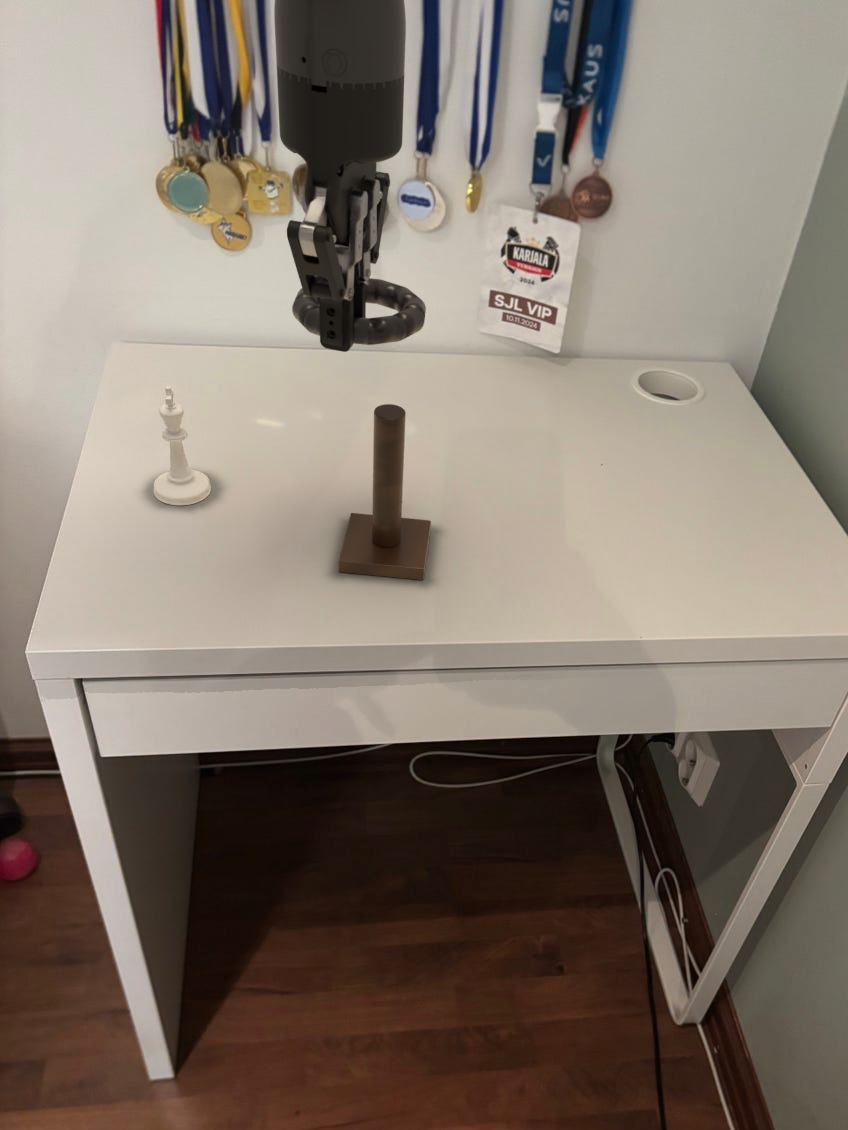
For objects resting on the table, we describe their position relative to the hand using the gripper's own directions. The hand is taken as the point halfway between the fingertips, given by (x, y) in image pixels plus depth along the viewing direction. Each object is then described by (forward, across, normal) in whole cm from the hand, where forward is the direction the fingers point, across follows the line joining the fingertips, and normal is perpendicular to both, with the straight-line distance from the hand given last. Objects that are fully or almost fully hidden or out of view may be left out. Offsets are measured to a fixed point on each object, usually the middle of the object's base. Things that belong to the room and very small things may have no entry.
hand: (343, 339), depth 68 cm
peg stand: (+19, -2, +3) cm, 19 cm away
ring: (-1, -4, 0) cm, 4 cm away
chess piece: (+19, -4, -17) cm, 26 cm away
